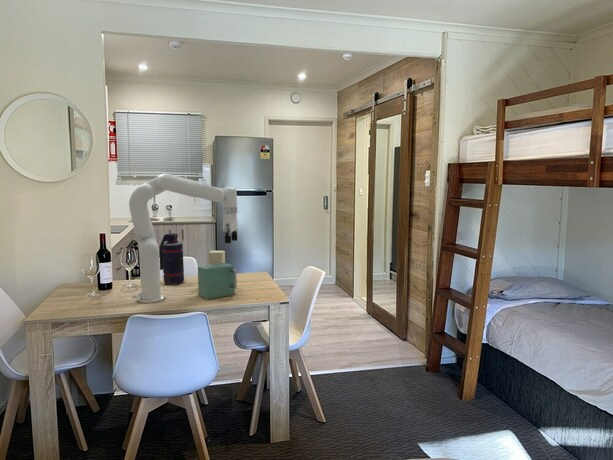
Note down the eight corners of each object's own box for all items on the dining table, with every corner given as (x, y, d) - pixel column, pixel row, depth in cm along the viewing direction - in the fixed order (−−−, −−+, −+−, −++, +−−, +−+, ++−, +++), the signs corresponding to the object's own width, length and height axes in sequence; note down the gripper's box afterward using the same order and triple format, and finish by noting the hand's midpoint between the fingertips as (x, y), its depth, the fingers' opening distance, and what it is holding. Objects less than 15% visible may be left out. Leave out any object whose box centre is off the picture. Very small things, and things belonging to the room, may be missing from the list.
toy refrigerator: (226, 285, 260) (225, 250, 258) (222, 288, 253) (221, 252, 251) (213, 285, 261) (211, 250, 259) (209, 288, 254) (207, 252, 251)
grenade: (187, 281, 273) (185, 232, 270) (179, 285, 262) (176, 235, 258) (166, 280, 275) (163, 232, 272) (157, 285, 264) (154, 235, 260)
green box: (239, 296, 236) (238, 267, 234) (211, 301, 226) (210, 271, 225) (234, 294, 241) (233, 265, 239) (206, 299, 231) (205, 269, 230)
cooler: (234, 294, 241) (233, 265, 239) (206, 299, 232) (205, 269, 230) (225, 290, 249) (224, 262, 247) (198, 295, 240) (197, 266, 238)
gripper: (229, 209, 251) (230, 239, 253) (217, 211, 234) (218, 244, 236) (242, 209, 249) (243, 239, 251) (231, 211, 233) (232, 244, 235)
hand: (231, 241), depth 244 cm, fingers open, 9 cm apart
